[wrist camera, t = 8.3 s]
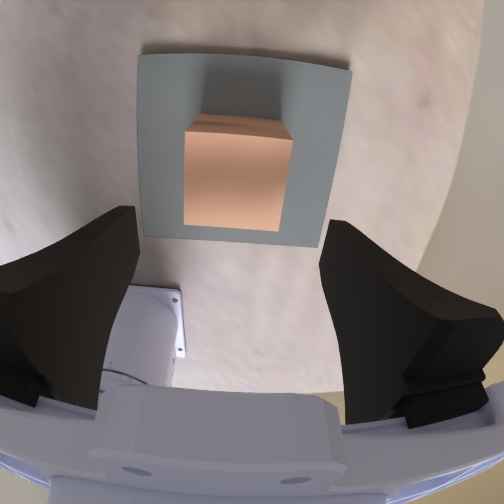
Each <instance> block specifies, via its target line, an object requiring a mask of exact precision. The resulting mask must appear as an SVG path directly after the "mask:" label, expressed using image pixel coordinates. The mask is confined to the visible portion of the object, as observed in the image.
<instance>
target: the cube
mask: <svg viewBox="0 0 504 504" xmlns="http://www.w3.org/2000/svg"><path fill="white" fill-rule="evenodd" d="M292 144H293V139H292V138H291V136H290V134H289V132H288V131H287V129H286V127H285V125H284V124H283V122H282V120H274V119H265V118H255V117H244V116H231V115H215V114H199V115H198V116H197V118H196V119H195V120H194V121H193V122H192V124H191V125H190V126H189V127H188V129H187V130H186V131H185V152H184V225H198V226H212V227H226V228H239V229H252V230H264V231H277V232H278V230H279V224H280V218H281V212H282V206H283V200H284V194H285V188H286V182H287V176H288V169H289V163H290V157H291V150H292Z"/></svg>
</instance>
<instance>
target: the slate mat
mask: <svg viewBox="0 0 504 504" xmlns="http://www.w3.org/2000/svg"><path fill="white" fill-rule="evenodd" d="M352 72H353V71H348V70H344V69H339V68H334V67H329V66H324V65H318V64H312V63H306V62H300V61H293V60H286V59H278V58H269V57H259V56H247V55H233V54H209V53H173V54H149V55H138V74H137V142H138V167H139V185H140V199H141V211H142V222H143V232H144V236H147V237H163V238H179V239H195V240H210V241H226V242H241V243H256V244H270V245H285V246H299V247H313V248H318V243H319V239H320V235H321V231H322V227H323V222H324V218H325V214H326V209H327V205H328V200H329V196H330V191H331V187H332V182H333V177H334V172H335V167H336V163H337V158H338V152H339V147H340V142H341V137H342V132H343V126H344V121H345V115H346V109H347V103H348V97H349V91H350V85H351V79H352ZM199 114H215V115H231V116H244V117H255V118H265V119H274V120H282V122H283V124H284V125H285V127H286V129H287V131H288V132H289V134H290V136H291V138H292V139H293V144H292V150H291V157H290V163H289V169H288V176H287V182H286V188H285V194H284V200H283V206H282V212H281V218H280V224H279V230H278V232H277V231H264V230H252V229H239V228H226V227H212V226H198V225H184V152H185V131H186V130H187V129H188V127H189V126H190V125H191V124H192V122H193V121H194V120H195V119H196V118H197V116H198V115H199Z"/></svg>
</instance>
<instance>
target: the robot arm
mask: <svg viewBox="0 0 504 504" xmlns="http://www.w3.org/2000/svg"><path fill="white" fill-rule="evenodd" d="M139 254H140V248H139V240H138V232H137V222H136V213H135V206H118V207H116V208H114V209H112V210H110V211H108V212H107V213H105V214H103V215H102V216H100V217H98V218H97V219H95V220H93V221H92V222H90V223H89V224H87V225H85V226H84V227H82V228H80V229H79V230H77V231H75V232H73V233H72V234H70V235H68V236H67V237H65V238H63V239H61V240H60V241H58V242H56V243H54V244H52V245H50V246H48V247H46V248H44V249H42V250H40V251H37V252H35V253H33V254H30V255H28V256H25V257H23V258H21V259H18V260H16V261H13V262H10V263H7V264H4V265H1V266H0V466H1V467H2V468H4V469H6V470H8V471H10V472H12V473H14V474H16V475H18V476H20V477H22V478H24V479H26V480H28V481H30V482H33V483H35V484H37V485H39V486H41V487H44V488H46V489H49V490H50V494H49V499H48V504H403V503H406V502H409V501H412V500H415V499H418V498H421V497H424V496H426V495H429V494H432V493H434V492H437V491H439V490H442V489H444V488H447V487H449V486H452V485H454V484H456V483H459V482H461V481H463V480H465V479H468V478H470V477H472V476H474V475H476V474H478V473H480V472H482V471H484V470H487V469H489V468H490V467H492V466H493V465H495V464H497V463H498V462H500V461H501V460H503V459H504V381H501V382H498V383H495V384H492V385H490V386H489V387H487V388H486V389H484V387H483V385H482V381H484V380H485V374H484V372H483V370H482V369H483V368H484V366H485V365H486V364H487V363H488V362H489V360H490V359H491V358H492V357H493V356H494V354H495V353H496V352H497V350H498V349H499V348H500V346H501V345H502V343H503V341H504V320H503V319H502V317H501V316H500V314H499V313H498V311H497V310H496V309H494V308H491V307H489V306H486V305H483V304H480V303H477V302H474V301H471V300H469V299H467V298H464V297H462V296H459V295H457V294H455V293H453V292H451V291H449V290H446V289H444V288H442V287H440V286H439V285H437V284H435V283H433V282H431V281H429V280H428V279H426V278H424V277H422V276H421V275H419V274H418V273H416V272H414V271H413V270H411V269H410V268H408V267H407V266H405V265H404V264H402V263H401V262H399V261H398V260H397V259H395V258H394V257H392V256H391V255H390V254H388V253H387V252H386V251H384V250H383V249H382V248H381V247H379V246H378V245H377V244H376V243H374V242H373V241H372V240H371V239H369V238H368V237H367V236H366V235H364V234H363V233H362V232H361V231H359V230H358V229H357V228H355V227H354V226H353V225H351V224H350V223H348V222H346V221H341V220H331V219H330V222H329V226H328V230H327V234H326V238H325V242H324V246H323V250H322V254H321V257H320V261H319V269H320V276H321V282H322V287H323V291H324V294H325V298H326V301H327V304H328V308H329V311H330V314H331V318H332V321H333V324H334V328H335V331H336V335H337V340H338V345H339V351H340V358H341V365H342V375H343V384H344V397H345V422H346V423H345V425H341V424H340V419H339V414H338V408H337V407H336V406H334V405H332V404H331V403H329V402H327V401H326V400H324V399H322V398H320V397H318V396H313V395H303V394H295V393H246V392H224V391H208V390H196V389H185V388H175V387H171V384H172V378H173V372H174V366H175V360H176V357H179V358H183V357H185V356H186V348H185V338H184V328H183V316H182V304H181V293H180V291H178V290H176V289H166V288H155V287H143V286H133V285H129V284H130V282H131V280H132V277H133V275H134V272H135V269H136V265H137V262H138V258H139ZM173 298H176V299H173Z"/></svg>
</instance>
